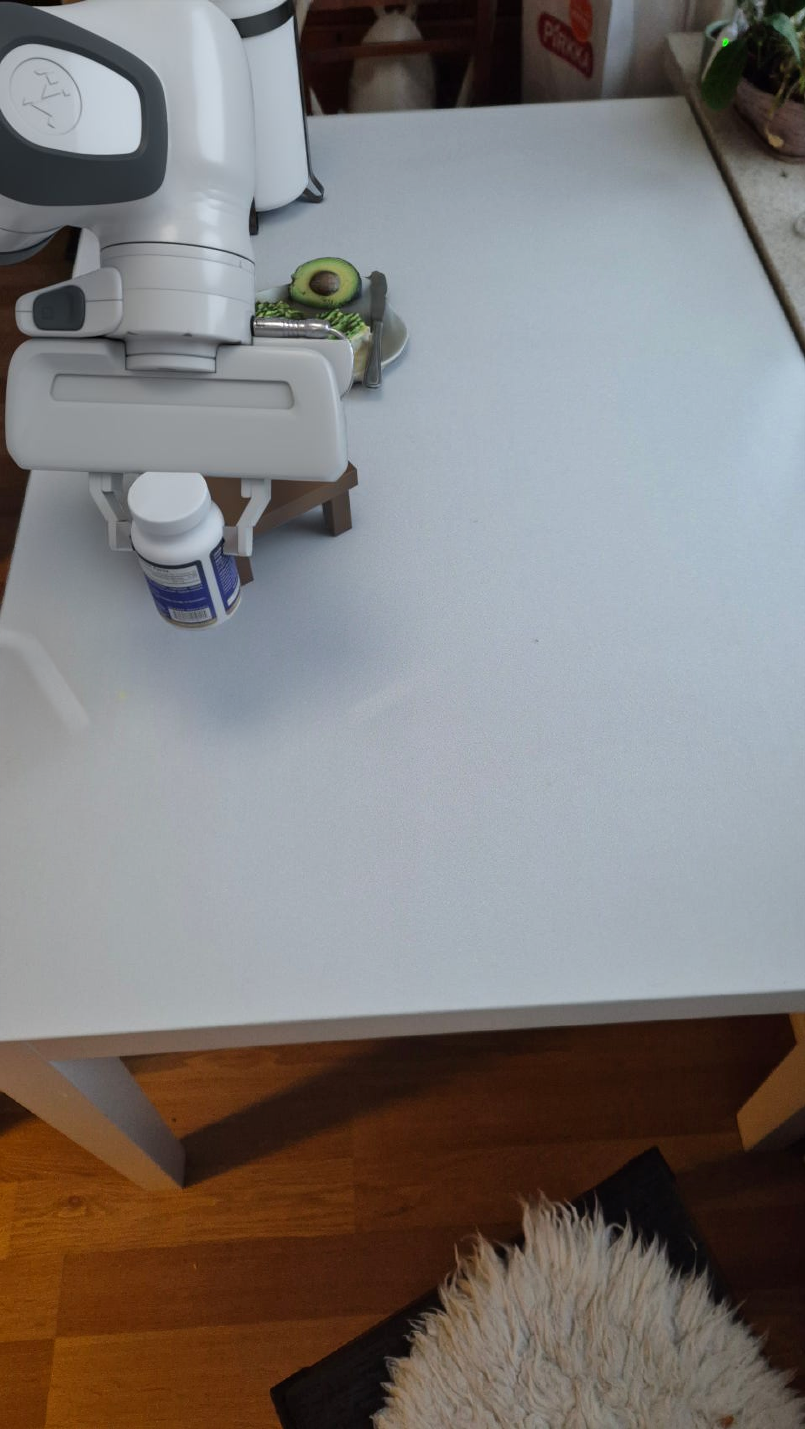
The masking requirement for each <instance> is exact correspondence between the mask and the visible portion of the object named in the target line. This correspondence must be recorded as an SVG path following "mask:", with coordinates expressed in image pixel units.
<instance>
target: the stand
mask: <svg viewBox="0 0 805 1429" xmlns="http://www.w3.org/2000/svg"><path fill="white" fill-rule="evenodd" d="M203 478H204V480H205V482H206V484H207V487H208V490H209V493H210V496H211V500H212V501H213V502H214V503H216V505H217V506H218V507H219V509H220V510H221V512H222V515H223V518H224V521H225V524H226V526H236V525H237V523H238V521H239V519H240V518H241V516H242V514H243V512H244V510H245V509H246V507H247V505H248V503H249V501H250V500H251V498H243V497H242V496H241V478H224V477H203ZM358 485H359V477H358V469H357V467H355V465H353V463H352V462H351V461H350V460H349V459H348V466H347V469H346V471H345V472H344V473H343V474H342V475H341V477H340V478H339V479H338V480H337V481H335V482H320V481H295V480H273V479H271V499H270V501H269V503H268V505H267V506H266V508H265V510H264V511H263V513H262V515H261V516H260V518H259V520H258V521H257V523H256V525H255V526H253V540H254V539H255V538H258V537H259V536H262V535H264V534H265V533H268V532H269V531H272V530H274V529H276V528H277V527H279V526H281V525H284V524H285V523H287V522H289V521H291V520H293V519H295V518H297V517H299V516H300V515H303V514H304V513H307V512H308V511H310V510H312V509H314V508H316V507H318V506H320V505H321V507H322V516H323V523H324V526H325V527H326V528H327V530H328V531H329V532H330V533H331V534H332V535H333V536H334V537H337V536H340V535H341V534H343V533H346V532H347V531H350V530H351V529H352V528H353V521H352V520H353V519H352V512H351V511H352V510H351V498H350V490H351V489H354V488H355V487H357V486H358ZM234 560H235V563H236V567H237V571H238V575H239V579H240V583H241V587H244V586H245V585H247V584H248V583H250V582H252V581H254V580H255V579H254V575H253V571H252V566H251V561H250V556H234Z"/></svg>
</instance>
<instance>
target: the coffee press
mask: <svg viewBox="0 0 805 1429" xmlns="http://www.w3.org/2000/svg"><path fill="white" fill-rule="evenodd" d="M209 1H211V2H212V3H213V4H214V5H216V6H217V7H218V8H220V9H221V10H222V11H223V12H224V13H225V14H226V15H227V16H228V17H229V18H230V20H231V21H232V22H233V24H234V25H235V27H236V29H237V31H238V33H239V35H240V37H241V39H242V42H243V45H244V48H245V51H246V55H247V58H248V63H249V68H250V73H251V80H252V88H253V99H254V112H255V135H256V188H255V194H254V197H253V200H252V204H251V208H250V214H249V234H259V230H260V212H266V211H272V210H275V209H279V208H281V207H284V206H287V205H288V204H290V203H292V202H293V201H295V200H296V199H298V198H299V197H300V196H301V195H305V196H306V197H307V198H308V199H309V200H310V201H312V203H315V204H319V203H322V201H323V200H324V196H325V187H324V185H322V183H321V182H320V181H319V180H318V179H317V176H316V175H315V173H314V172H313V166H312V159H311V158H312V155H311V147H310V146H311V145H310V136H309V135H310V134H309V126H308V116H307V115H308V114H307V106H306V95H305V94H306V93H305V84H304V75H303V65H302V63H303V62H302V54H301V44H300V35H299V24H298V16H297V6H296V5H297V4H296V0H209ZM309 181H311V183H312V184H313V186H314V187H315V188H316V189H317V191H318V192H319V193H320V194H319V195H317V194H315V193H314V192H313V191H312V190H310V189H309V188H308V187H307V186H308V184H309Z"/></svg>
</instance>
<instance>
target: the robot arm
mask: <svg viewBox="0 0 805 1429" xmlns="http://www.w3.org/2000/svg"><path fill="white" fill-rule="evenodd" d="M255 188H256V135H255V112H254V99H253V88H252V80H251V73H250V68H249V63H248V58H247V55H246V51H245V48H244V45H243V42H242V39H241V37H240V35H239V33H238V31H237V29H236V27H235V25H234V24H233V22H232V21H231V20H230V18H229V17H228V16H227V15H226V14H225V13H224V12H223V11H222V10H221V9H220V8H218V7H217V6H216V5H214V4H213V3H212V2H211V1H209V0H83V1H78V2H74V3H69V4H62V5H52V6H51V5H50V6H35V5H33V6H31V5H28V4H24V3H19V2H13V1H0V266H1V267H2V266H9V265H13V264H17V263H21V262H23V261H26V260H28V259H30V258H31V257H33V256H35V255H36V254H38V253H39V252H41V251H42V250H43V249H44V248H45V247H46V246H47V245H48V244H49V243H50V241H51V240H52V239H53V238H54V237H55V235H56V234H57V233H58V232H59V231H60V230H61V229H62V228H64V227H65V226H70V227H75V228H81V229H86V230H89V231H90V232H91V233H92V234H93V235H95V237H96V238H97V240H98V244H99V245H98V246H99V250H98V251H99V268H97V269H96V270H92V271H90V272H87V273H85V274H82V275H79V276H76V277H73V278H71V279H68V280H65V281H61V282H58V283H56V284H53V285H49V286H45V287H42V288H39V289H37V290H33V291H30V292H28V293H24V294H23V295H21V296H19V298H18V299H17V300H16V303H15V306H14V307H15V308H14V309H15V322H16V325H17V328H18V330H19V331H20V332H21V333H23V334H25V335H26V336H28V337H30V339H28V340H26V341H23V342H22V343H21V344H20V345H18V347H17V348H16V349H15V351H14V353H12V356H11V359H10V362H9V364H8V371H7V379H6V382H7V383H6V389H5V390H6V391H5V413H4V414H5V415H4V416H5V418H4V426H5V428H4V429H5V444H6V450H7V453H8V454H9V455H10V457H11V458H12V459H13V461H14V462H15V463H16V465H17V466H18V467H19V468H21V469H22V470H29V471H48V472H49V471H51V472H52V471H53V472H73V473H74V472H76V473H77V472H78V473H79V472H80V473H88V493H89V494H90V496H91V497H92V499H93V501H94V502H95V504H96V506H97V508H98V509H99V511H100V514H102V517H103V518H104V519H105V521H106V522H107V525H108V526H107V530H108V533H107V534H108V547H109V550H110V551H114V552H115V551H116V552H136V551H135V549H134V546H133V543H132V539H131V525H132V521H133V520H129V519H128V516H127V515H126V513H125V511H124V509H123V507H122V505H121V503H120V502H119V500H118V498H117V496H116V494H115V493H122V492H124V475H125V474H130V475H142V474H144V473H145V472H182V473H200V474H201V475H202V477H224V478H241V496H242V497H243V498H251V500H250V501H249V503H248V505H247V507H246V509H245V510H244V512H243V514H242V516H241V518H240V519H239V521H238V523H237V525H236V526H223V538H224V540H225V542H224V544H223V554H224V555H229V556H249V557H251V556H252V555H253V554H252V553H253V542H254V541H253V540H254V539H253V526H255V525H256V523H257V521H258V520H259V518H260V516H261V515H262V513H263V511H264V510H265V508H266V506H267V505H268V503H269V501H270V499H271V479H273V480H295V481H320V482H335V481H337V480H338V479H339V478H340V477H341V475H342V474H343V473H344V472H345V471H346V469H347V466H348V460H349V442H348V427H347V426H348V425H347V416H346V415H347V414H346V408H345V401H344V398H345V397H346V396H348V394H349V393H350V391H351V389H352V387H353V384H354V383H353V379H354V350H353V347H352V344H351V342H350V340H349V339H348V337H347V336H346V335H345V334H344V333H343V332H341V331H340V330H338V329H336V328H333V327H330V324H329V322H328V321H325V320H320V319H307V320H306V321H305V320H299V321H298V320H295V321H294V320H289V319H284V318H266V317H255V293H256V256H255V252H254V248H253V244H252V240H251V235H250V233H249V214H250V208H251V204H252V200H253V197H254V194H255ZM330 334H331V335H334V336H336V337H337V338H339V339H340V340H329V339H328V338H329V336H330ZM294 337H295V338H294ZM298 338H306V339H298Z"/></svg>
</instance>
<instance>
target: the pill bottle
mask: <svg viewBox="0 0 805 1429" xmlns="http://www.w3.org/2000/svg"><path fill="white" fill-rule="evenodd" d="M127 506H128V508H129V512H130V515H131V517H132V520H131V521H132V525H131V539H132V543H133V546H134V549H135V551H134V552H135V554H136V556H137V559H138V562H139V564H140V567H141V570H142V573H143V575H144V578H145V581H146V583H147V587H148V589H149V592H150V595H151V597H152V600H153V603H154V605H155V608H156V610H157V612H158V614H159V616H160V617H161V619H162V620H164V622H166V624H168V625H170V626H171V627H172V628H176V629H178V630H181V631H186V632H203V631H208V630H212V629H215V628H217V627H219V626H221V625H222V624H224V623H226V622H227V621H228V620H229V619H230V618H231V617H232V616H233V615H235V613H236V612H237V610H238V608H239V606H240V605H241V601H242V596H243V595H242V594H243V589H242V586H241V583H240V579H239V575H238V571H237V567H236V563H235V560H234V556H229V555H224V554H223V544H224V542H225V540H224V538H223V526H226V524H225V521H224V518H223V515H222V512H221V510H220V509H219V507H218V506H217V505H216V503H214V502H213V501H212V500H211V496H210V493H209V490H208V487H207V484H206V482H205V480H204V478H203V477H202V475H201V474H200V473H182V472H145V473H144V474H140V475H139V476H138V477H137V478H136V479H134V481H133V482H132V484H131V486H130V487H129V489H128V492H127Z"/></svg>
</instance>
